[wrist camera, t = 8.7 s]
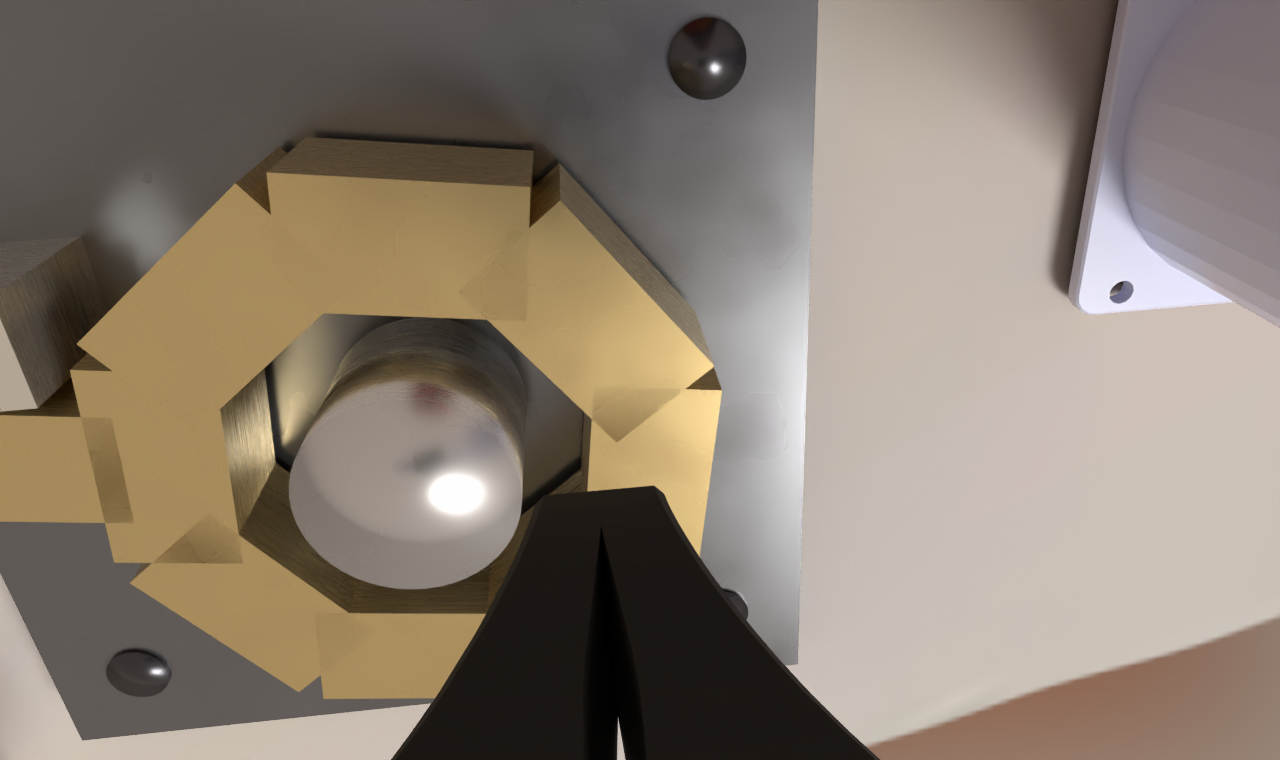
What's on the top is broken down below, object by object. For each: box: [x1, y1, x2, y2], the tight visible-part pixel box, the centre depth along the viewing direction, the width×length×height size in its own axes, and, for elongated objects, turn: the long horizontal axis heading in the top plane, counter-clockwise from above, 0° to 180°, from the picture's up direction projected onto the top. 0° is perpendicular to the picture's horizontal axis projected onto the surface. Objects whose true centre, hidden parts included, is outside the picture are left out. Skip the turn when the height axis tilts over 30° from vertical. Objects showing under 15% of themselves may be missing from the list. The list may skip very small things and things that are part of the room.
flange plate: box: [0, 0, 818, 740], centre depth 18 cm, size 18×17×4 cm
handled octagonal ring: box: [0, 137, 722, 699], centre depth 17 cm, size 17×11×2 cm, turn 85°
